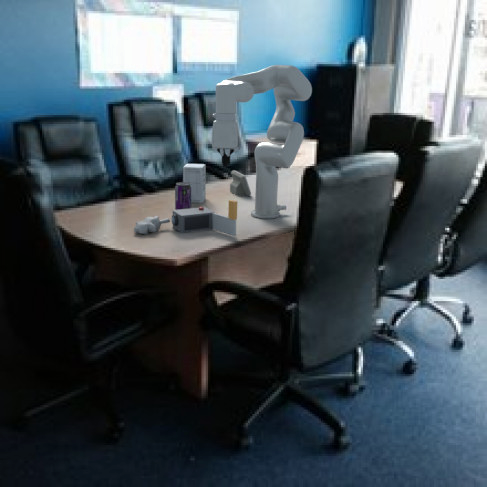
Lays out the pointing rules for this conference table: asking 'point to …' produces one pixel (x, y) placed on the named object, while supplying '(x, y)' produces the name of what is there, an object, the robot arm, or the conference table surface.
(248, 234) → the conference table surface
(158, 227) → the bunny figurine
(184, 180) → the supplement box
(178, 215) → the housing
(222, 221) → the door
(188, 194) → the beverage can
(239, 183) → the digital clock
